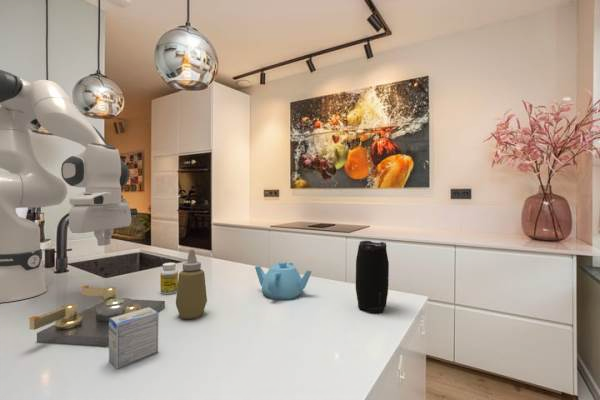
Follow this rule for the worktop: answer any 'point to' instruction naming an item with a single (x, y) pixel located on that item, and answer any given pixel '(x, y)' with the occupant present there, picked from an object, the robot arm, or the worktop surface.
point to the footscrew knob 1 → (58, 318)
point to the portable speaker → (372, 276)
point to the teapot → (282, 281)
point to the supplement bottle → (169, 279)
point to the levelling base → (96, 322)
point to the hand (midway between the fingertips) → (104, 244)
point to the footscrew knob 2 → (100, 292)
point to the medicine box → (133, 336)
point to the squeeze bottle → (191, 289)
